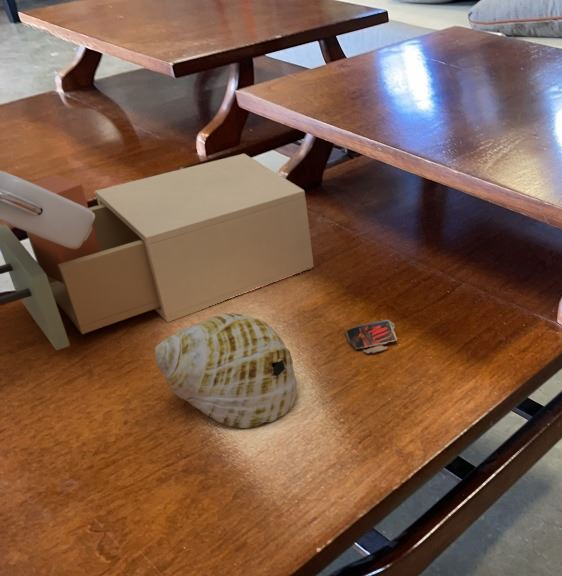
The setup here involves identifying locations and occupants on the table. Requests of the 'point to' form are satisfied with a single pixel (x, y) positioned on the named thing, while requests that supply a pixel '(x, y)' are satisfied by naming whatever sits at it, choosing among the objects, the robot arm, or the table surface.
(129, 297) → the drawer
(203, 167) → the cabinet
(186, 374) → the seashell
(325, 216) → the table surface
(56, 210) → the robot arm
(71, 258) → the block
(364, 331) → the matchbox
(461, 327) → the table surface
